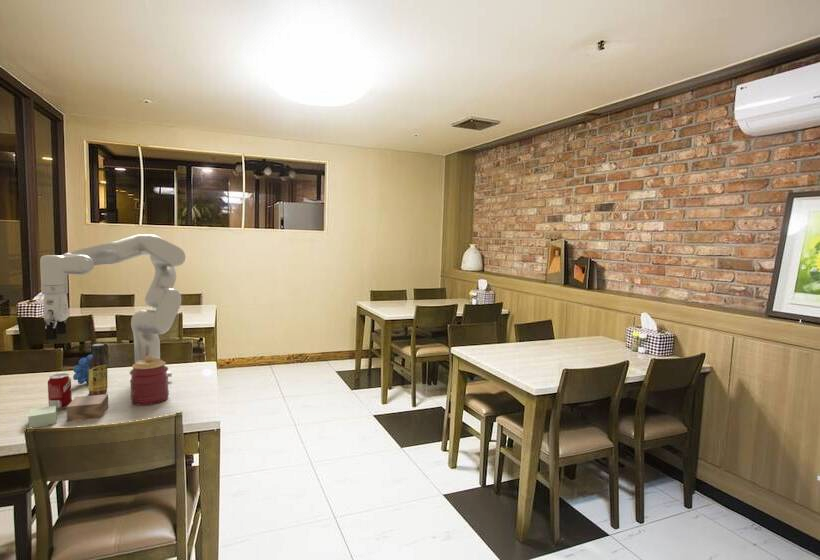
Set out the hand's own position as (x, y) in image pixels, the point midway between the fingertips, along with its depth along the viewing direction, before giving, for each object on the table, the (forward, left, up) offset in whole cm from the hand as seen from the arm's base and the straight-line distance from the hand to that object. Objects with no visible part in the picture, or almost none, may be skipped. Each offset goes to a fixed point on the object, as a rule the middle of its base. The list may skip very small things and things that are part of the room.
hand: (56, 336), depth 165 cm
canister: (-29, +1, -27) cm, 40 cm away
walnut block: (-11, +10, -27) cm, 30 cm away
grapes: (-1, -30, -27) cm, 40 cm away
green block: (+1, +14, -27) cm, 30 cm away
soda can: (0, 0, -27) cm, 27 cm away
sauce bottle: (-9, -13, -27) cm, 31 cm away
